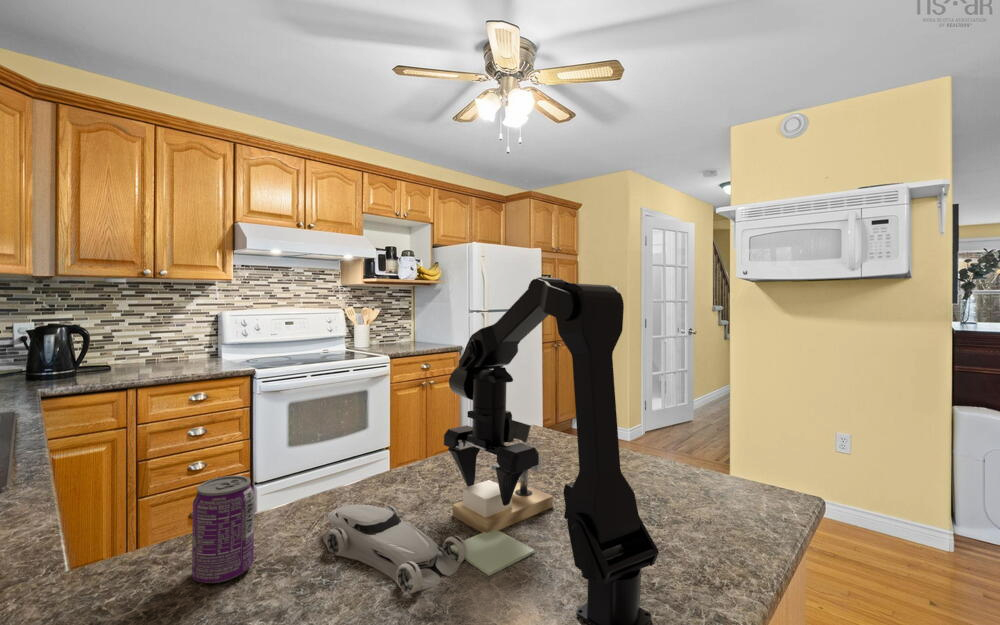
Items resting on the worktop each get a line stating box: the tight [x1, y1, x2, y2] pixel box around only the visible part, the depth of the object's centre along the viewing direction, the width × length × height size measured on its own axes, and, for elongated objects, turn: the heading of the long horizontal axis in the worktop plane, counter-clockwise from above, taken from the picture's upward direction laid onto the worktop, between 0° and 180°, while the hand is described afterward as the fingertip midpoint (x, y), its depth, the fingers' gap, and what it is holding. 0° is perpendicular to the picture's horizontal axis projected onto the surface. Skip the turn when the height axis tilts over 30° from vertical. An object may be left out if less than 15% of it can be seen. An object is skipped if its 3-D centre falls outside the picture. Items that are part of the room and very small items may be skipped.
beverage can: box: [191, 475, 255, 584], centre depth 62 cm, size 7×7×12 cm
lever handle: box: [491, 455, 542, 493], centre depth 86 cm, size 10×2×7 cm, turn 61°
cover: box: [462, 479, 512, 518], centre depth 79 cm, size 6×6×3 cm
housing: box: [452, 481, 554, 533], centre depth 82 cm, size 16×9×2 cm, turn 133°
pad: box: [450, 529, 535, 577], centre depth 69 cm, size 9×9×1 cm
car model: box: [322, 503, 467, 594], centre depth 69 cm, size 11×24×5 cm, turn 54°
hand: (487, 496), depth 79 cm, fingers open, 9 cm apart
